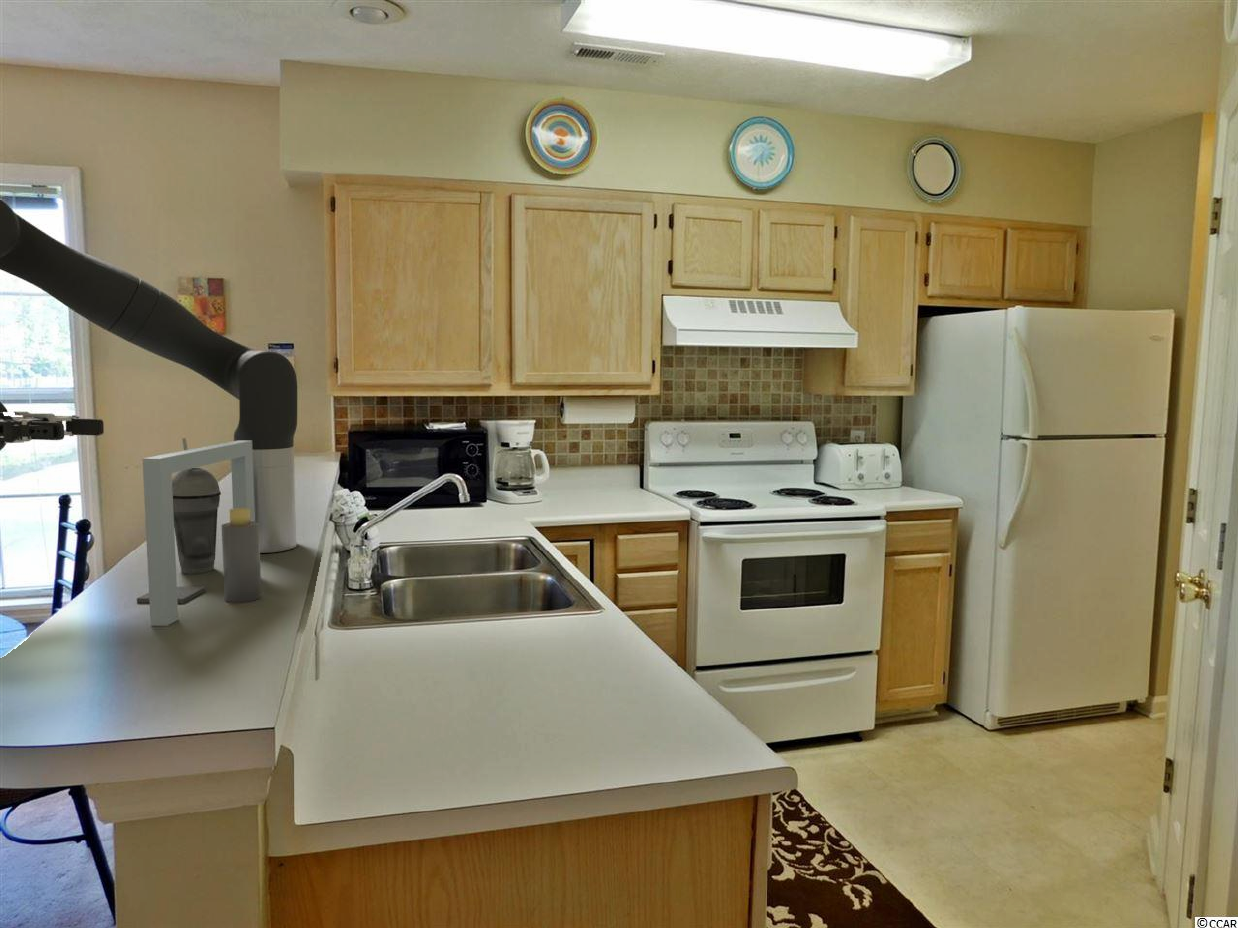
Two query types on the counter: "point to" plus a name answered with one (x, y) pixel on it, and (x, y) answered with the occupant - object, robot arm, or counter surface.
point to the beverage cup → (195, 518)
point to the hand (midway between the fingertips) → (83, 429)
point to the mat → (178, 594)
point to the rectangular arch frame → (162, 516)
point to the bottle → (241, 557)
